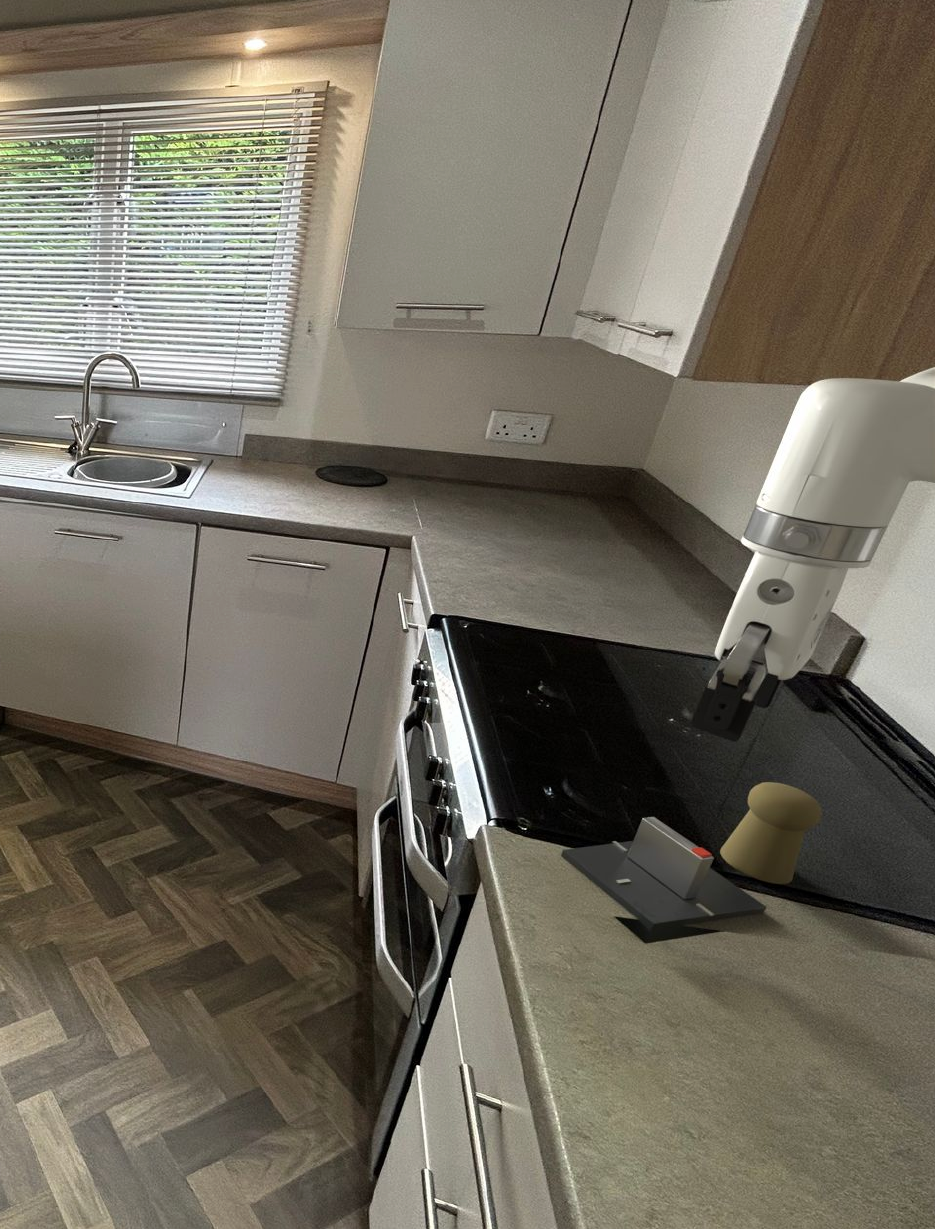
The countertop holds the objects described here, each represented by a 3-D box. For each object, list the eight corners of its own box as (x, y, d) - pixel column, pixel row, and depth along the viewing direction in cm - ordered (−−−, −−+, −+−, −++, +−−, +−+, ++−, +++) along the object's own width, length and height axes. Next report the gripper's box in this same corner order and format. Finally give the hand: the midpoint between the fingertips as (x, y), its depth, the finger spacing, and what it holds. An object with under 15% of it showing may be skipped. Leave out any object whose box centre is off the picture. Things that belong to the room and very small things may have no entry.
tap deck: (656, 854, 83) (664, 834, 82) (758, 927, 73) (768, 906, 72) (555, 867, 80) (562, 847, 80) (646, 944, 71) (655, 923, 70)
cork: (762, 903, 76) (806, 815, 72) (697, 862, 81) (734, 778, 77) (803, 892, 78) (849, 805, 74) (736, 852, 83) (775, 769, 79)
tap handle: (626, 856, 79) (643, 815, 77) (637, 855, 79) (654, 814, 77) (684, 899, 73) (703, 857, 71) (696, 897, 73) (715, 855, 71)
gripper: (855, 570, 53) (760, 769, 60) (895, 531, 63) (810, 707, 69) (718, 541, 59) (644, 726, 65) (774, 509, 68) (705, 673, 75)
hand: (729, 716), depth 67 cm, fingers open, 9 cm apart
